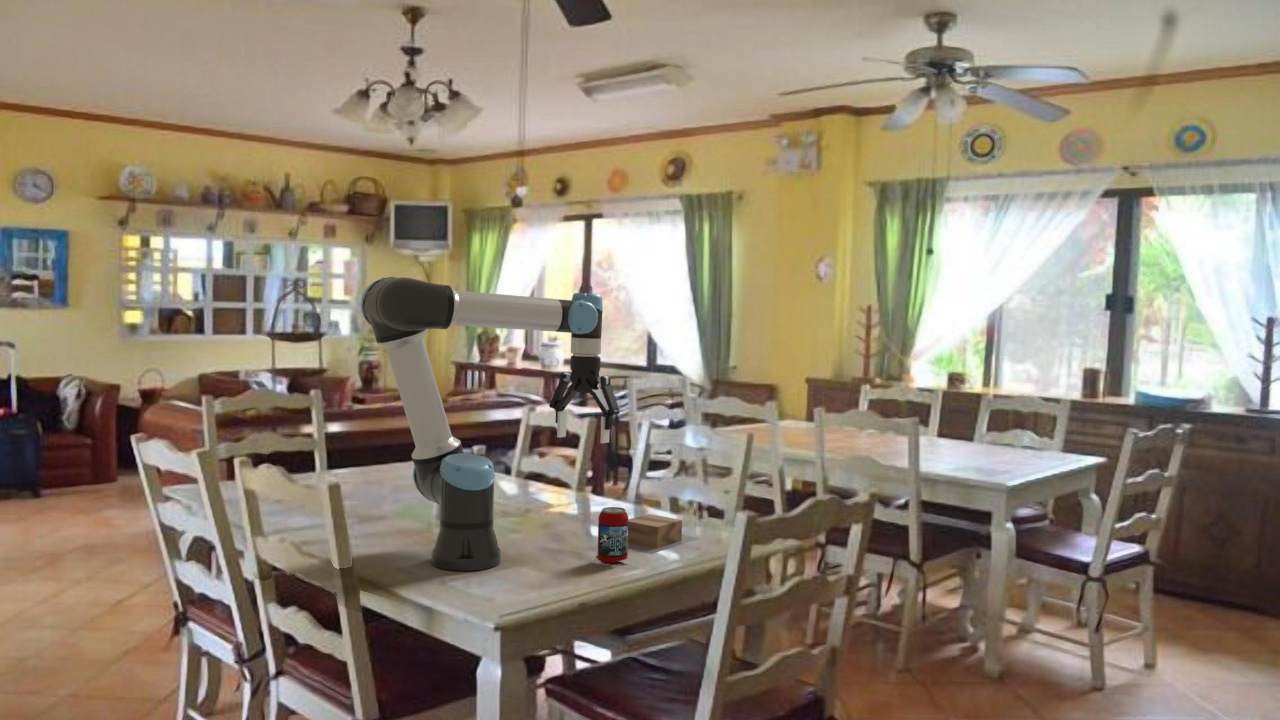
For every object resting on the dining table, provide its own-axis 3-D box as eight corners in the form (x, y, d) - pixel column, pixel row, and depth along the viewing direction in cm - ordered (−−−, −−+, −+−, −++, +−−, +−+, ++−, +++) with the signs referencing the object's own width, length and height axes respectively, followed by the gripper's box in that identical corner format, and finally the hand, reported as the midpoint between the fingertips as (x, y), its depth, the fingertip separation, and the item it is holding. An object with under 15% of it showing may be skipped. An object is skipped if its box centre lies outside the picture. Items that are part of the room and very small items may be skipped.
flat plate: (651, 558, 232) (651, 553, 232) (603, 548, 240) (603, 543, 240) (699, 543, 248) (699, 538, 248) (653, 533, 256) (653, 529, 256)
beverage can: (601, 566, 224) (602, 513, 223) (594, 558, 231) (595, 506, 230) (630, 565, 226) (632, 512, 225) (623, 557, 232) (624, 505, 232)
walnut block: (657, 548, 237) (657, 527, 236) (623, 541, 243) (623, 520, 242) (681, 540, 245) (682, 520, 244) (648, 533, 251) (648, 513, 250)
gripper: (635, 357, 248) (632, 443, 250) (556, 351, 262) (553, 433, 264) (617, 358, 242) (614, 446, 243) (537, 352, 256) (534, 435, 257)
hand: (582, 439), depth 254 cm, fingers open, 13 cm apart
